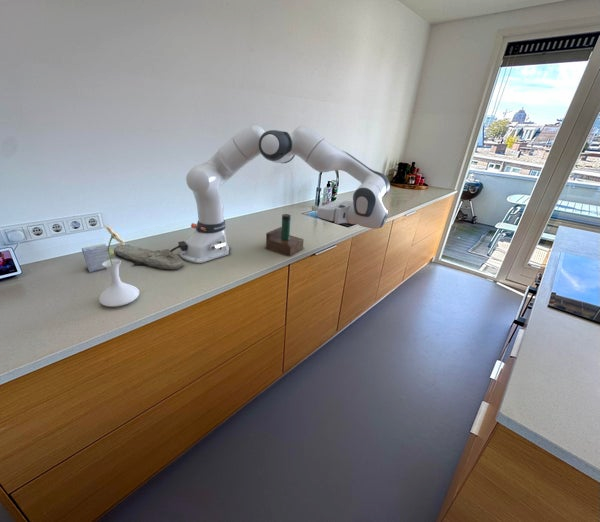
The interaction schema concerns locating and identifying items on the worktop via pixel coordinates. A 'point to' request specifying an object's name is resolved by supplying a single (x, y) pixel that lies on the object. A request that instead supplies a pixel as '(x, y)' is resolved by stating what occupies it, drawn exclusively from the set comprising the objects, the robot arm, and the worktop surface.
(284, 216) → the marker
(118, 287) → the flower in vase
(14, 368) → the worktop surface
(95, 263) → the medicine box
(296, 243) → the stand
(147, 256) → the long grey stone
